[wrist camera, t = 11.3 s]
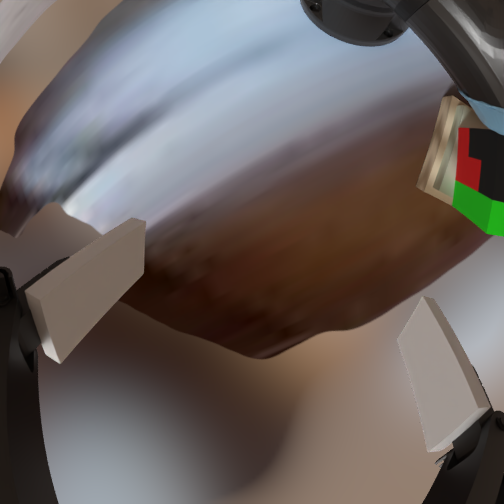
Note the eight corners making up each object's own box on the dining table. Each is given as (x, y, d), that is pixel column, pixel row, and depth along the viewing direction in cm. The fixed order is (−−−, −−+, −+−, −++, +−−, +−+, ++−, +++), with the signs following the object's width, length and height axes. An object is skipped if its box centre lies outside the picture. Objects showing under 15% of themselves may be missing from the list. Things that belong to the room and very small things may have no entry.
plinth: (442, 97, 26) (459, 94, 22) (507, 142, 26) (525, 146, 21) (415, 186, 33) (430, 195, 28) (481, 221, 32) (497, 233, 27)
